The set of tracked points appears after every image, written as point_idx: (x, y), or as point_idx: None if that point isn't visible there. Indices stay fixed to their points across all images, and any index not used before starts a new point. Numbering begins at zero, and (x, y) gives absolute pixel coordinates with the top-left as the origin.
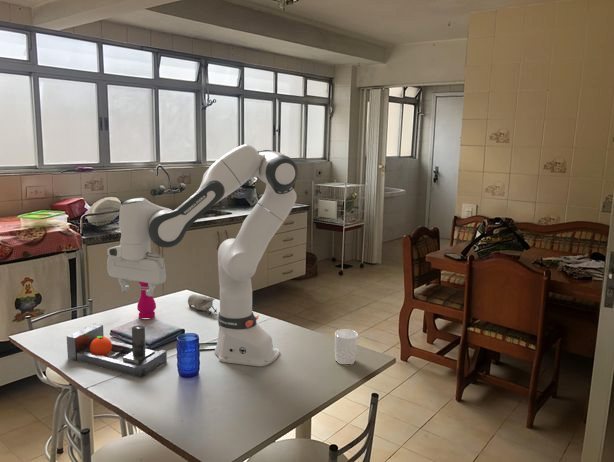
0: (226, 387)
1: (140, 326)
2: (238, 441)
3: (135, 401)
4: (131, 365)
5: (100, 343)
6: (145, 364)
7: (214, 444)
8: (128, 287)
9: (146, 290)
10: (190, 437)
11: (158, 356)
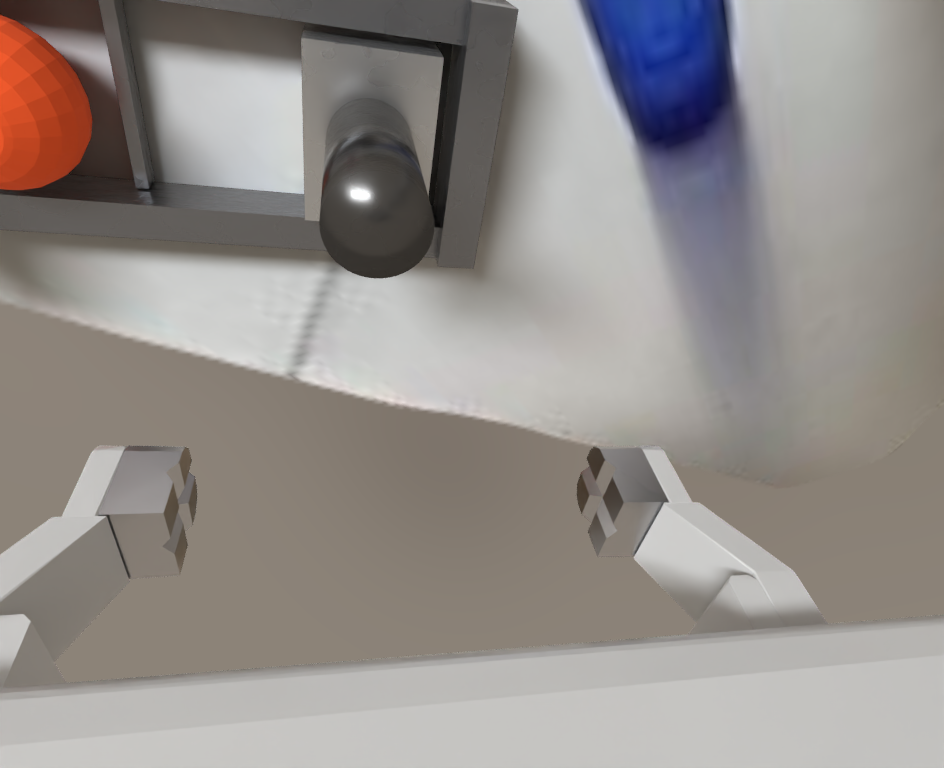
0: (878, 169)
1: (377, 197)
2: (889, 421)
3: (536, 382)
4: None
5: (30, 173)
6: (478, 233)
7: (826, 449)
8: (174, 497)
9: (601, 545)
10: (762, 450)
11: (499, 109)
